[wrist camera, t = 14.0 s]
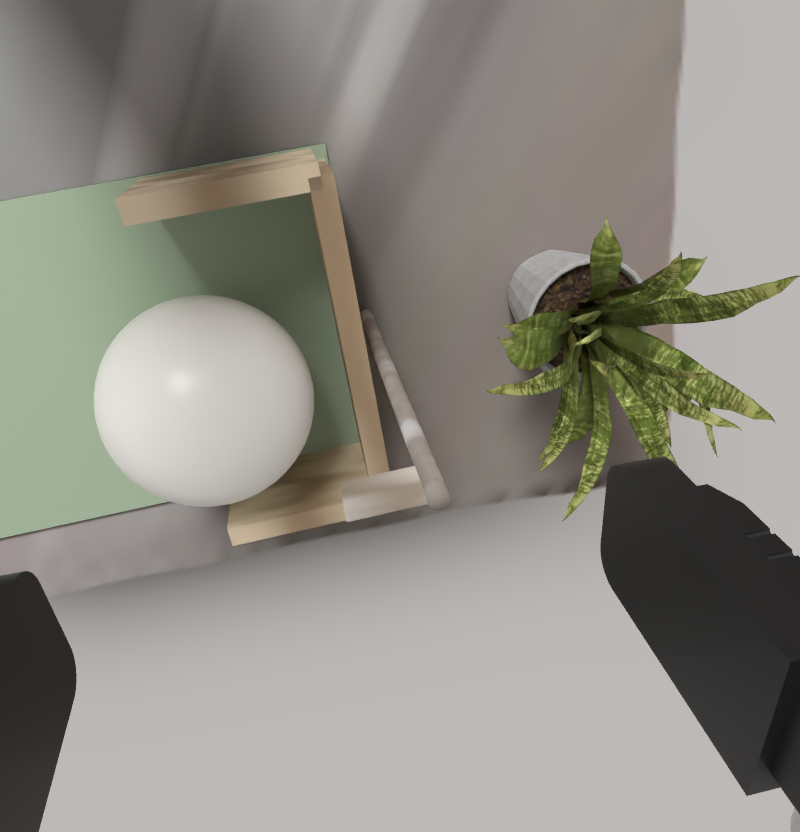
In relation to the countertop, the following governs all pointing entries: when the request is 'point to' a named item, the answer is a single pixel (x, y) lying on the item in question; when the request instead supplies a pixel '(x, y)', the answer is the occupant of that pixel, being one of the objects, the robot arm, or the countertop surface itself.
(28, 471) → the green mat
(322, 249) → the wooden u-shaped frame
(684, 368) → the house plant
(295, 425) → the ball
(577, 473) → the countertop surface
